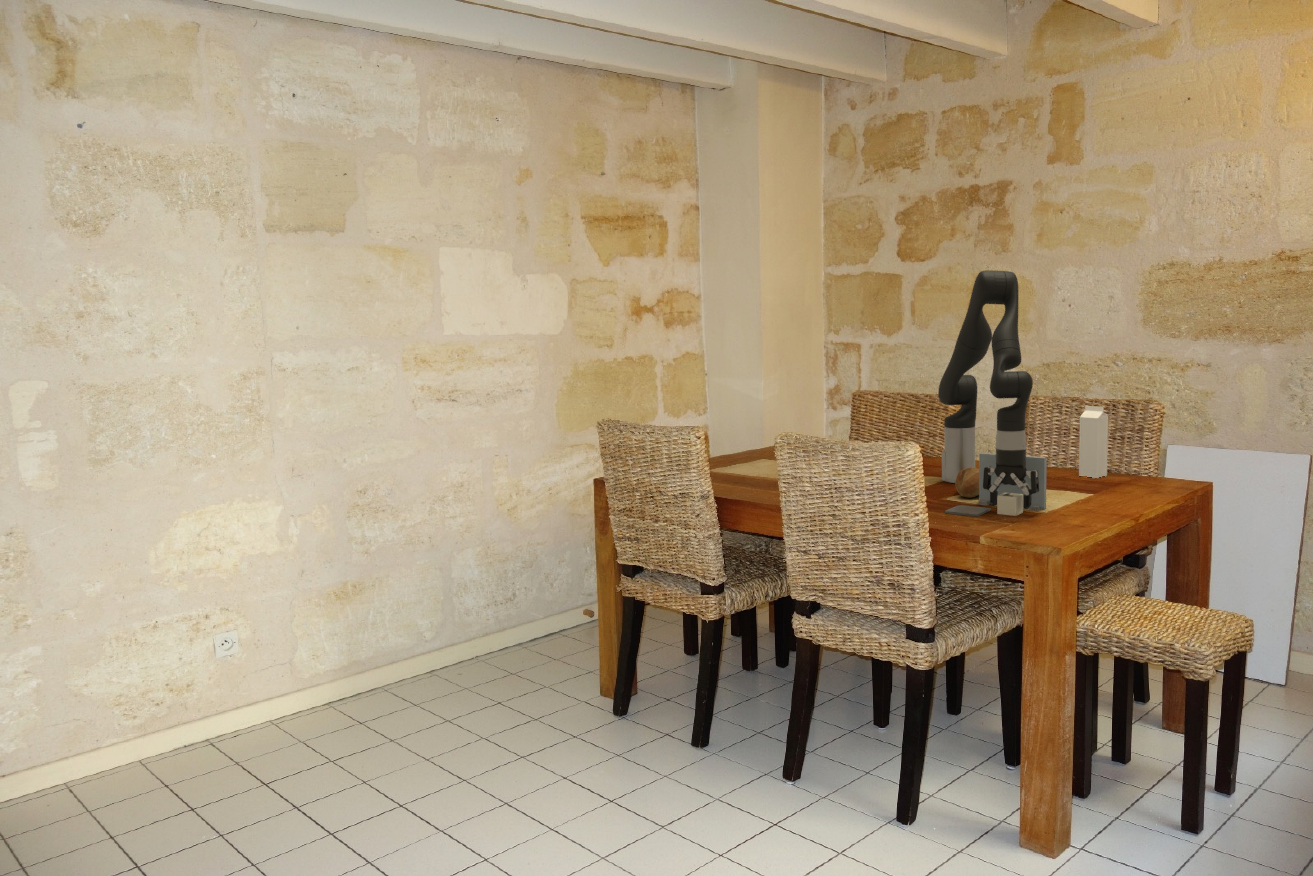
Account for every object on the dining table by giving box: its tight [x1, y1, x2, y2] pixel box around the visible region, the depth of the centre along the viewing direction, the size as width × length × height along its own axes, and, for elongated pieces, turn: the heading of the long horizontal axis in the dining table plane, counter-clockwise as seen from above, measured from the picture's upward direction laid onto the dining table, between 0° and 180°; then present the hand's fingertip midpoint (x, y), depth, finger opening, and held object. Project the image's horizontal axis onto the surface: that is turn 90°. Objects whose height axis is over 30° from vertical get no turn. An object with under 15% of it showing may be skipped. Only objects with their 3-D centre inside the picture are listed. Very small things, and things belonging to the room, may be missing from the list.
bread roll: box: [954, 467, 979, 499], centre depth 289 cm, size 10×15×8 cm, turn 145°
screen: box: [978, 452, 1048, 512], centre depth 272 cm, size 18×6×14 cm, turn 49°
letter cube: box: [996, 493, 1024, 517], centre depth 264 cm, size 5×5×5 cm
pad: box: [944, 504, 992, 518], centre depth 268 cm, size 9×9×1 cm
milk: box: [1078, 405, 1109, 479], centre depth 308 cm, size 6×6×22 cm
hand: (1010, 507), depth 264 cm, fingers open, 8 cm apart
